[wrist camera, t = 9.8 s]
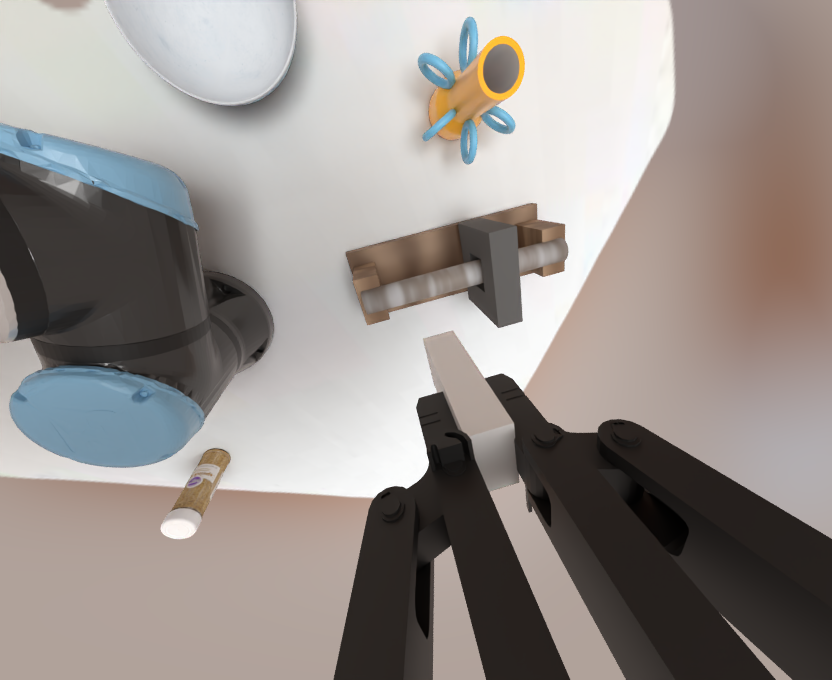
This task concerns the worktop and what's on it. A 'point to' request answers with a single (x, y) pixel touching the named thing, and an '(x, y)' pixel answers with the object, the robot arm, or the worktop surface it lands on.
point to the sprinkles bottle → (196, 496)
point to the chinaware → (212, 44)
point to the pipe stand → (446, 263)
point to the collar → (494, 268)
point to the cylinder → (473, 88)
